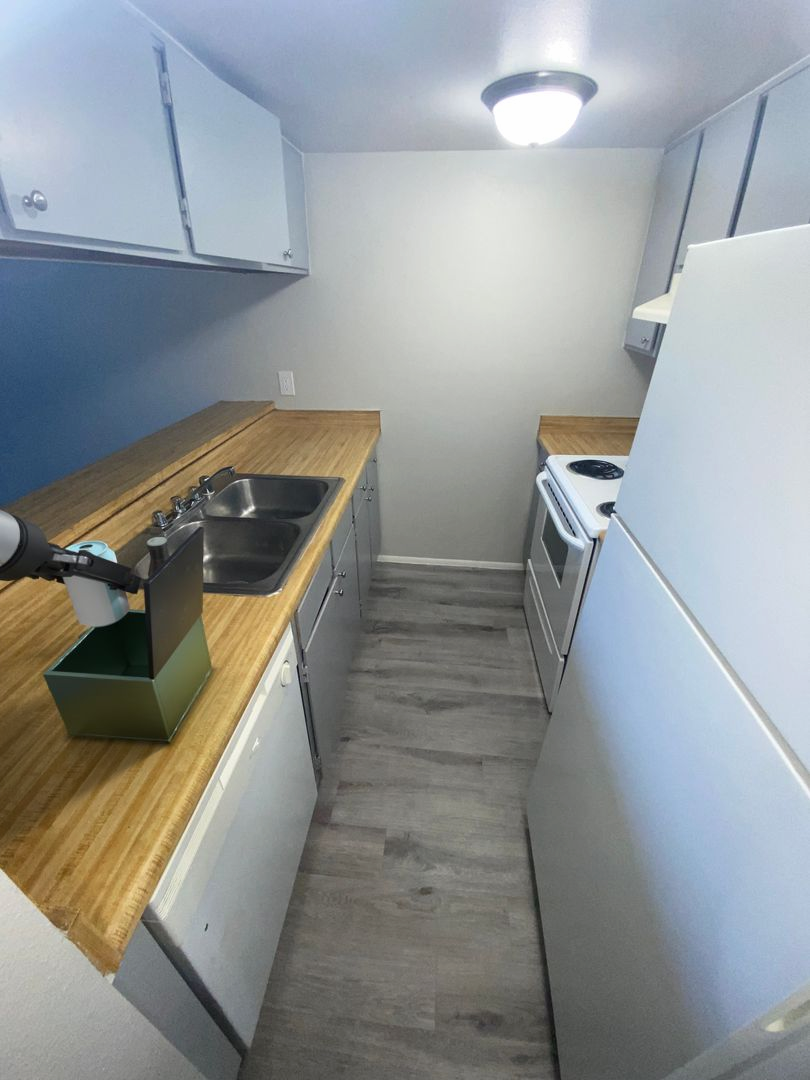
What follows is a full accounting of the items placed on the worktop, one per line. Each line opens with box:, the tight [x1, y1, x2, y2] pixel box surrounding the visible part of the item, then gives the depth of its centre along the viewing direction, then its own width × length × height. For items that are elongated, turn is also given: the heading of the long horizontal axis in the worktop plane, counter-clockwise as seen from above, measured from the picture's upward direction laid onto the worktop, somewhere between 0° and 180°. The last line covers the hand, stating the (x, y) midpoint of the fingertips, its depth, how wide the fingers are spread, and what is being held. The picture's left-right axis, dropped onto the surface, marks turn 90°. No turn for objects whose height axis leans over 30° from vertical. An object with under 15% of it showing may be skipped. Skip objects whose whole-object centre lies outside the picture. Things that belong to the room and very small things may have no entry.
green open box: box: [42, 608, 214, 745], centre depth 85 cm, size 18×18×14 cm
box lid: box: [143, 526, 205, 680], centre depth 77 cm, size 18×18×1 cm
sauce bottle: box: [146, 536, 171, 578], centre depth 107 cm, size 7×6×20 cm
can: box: [60, 540, 131, 628], centre depth 71 cm, size 7×7×12 cm
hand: (113, 584), depth 75 cm, fingers closed on can, 7 cm apart
